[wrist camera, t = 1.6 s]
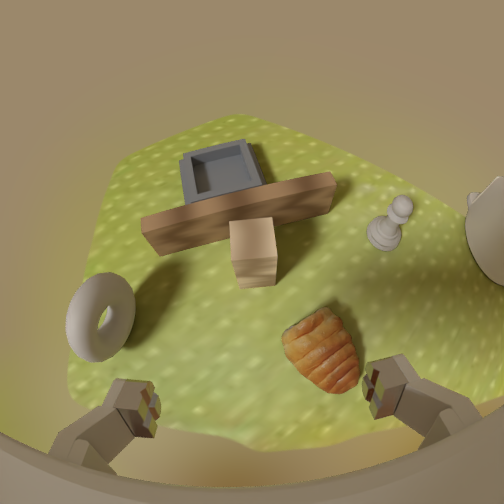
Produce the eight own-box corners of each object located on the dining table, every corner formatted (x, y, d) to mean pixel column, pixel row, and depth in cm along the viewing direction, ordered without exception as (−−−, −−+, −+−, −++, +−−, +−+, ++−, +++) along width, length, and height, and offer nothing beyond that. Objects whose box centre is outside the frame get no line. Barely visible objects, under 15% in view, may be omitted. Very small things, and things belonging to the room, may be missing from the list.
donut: (128, 286, 32) (86, 251, 23) (151, 295, 32) (111, 262, 23) (99, 358, 28) (46, 345, 19) (120, 371, 28) (69, 363, 19)
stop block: (271, 253, 33) (272, 217, 26) (275, 285, 32) (277, 256, 24) (237, 256, 33) (229, 221, 26) (239, 289, 32) (231, 260, 24)
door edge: (322, 201, 36) (330, 171, 31) (328, 213, 35) (337, 184, 30) (158, 242, 35) (140, 218, 29) (159, 256, 34) (141, 233, 28)
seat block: (250, 147, 41) (249, 133, 38) (272, 203, 36) (272, 188, 34) (180, 164, 40) (175, 151, 38) (189, 223, 36) (183, 211, 33)
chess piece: (371, 214, 35) (391, 176, 28) (401, 229, 34) (426, 194, 27) (361, 242, 33) (383, 207, 26) (394, 257, 32) (421, 226, 25)
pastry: (370, 370, 27) (383, 368, 24) (321, 407, 26) (328, 411, 22) (323, 304, 31) (330, 295, 27) (273, 338, 29) (273, 333, 26)
